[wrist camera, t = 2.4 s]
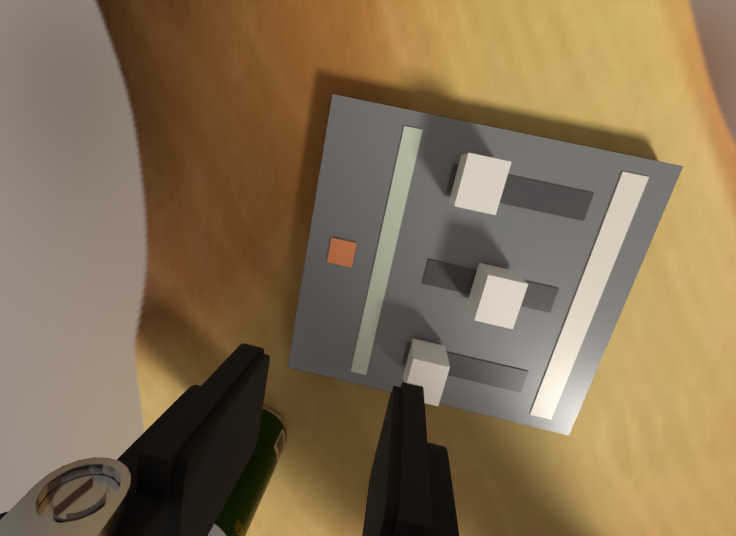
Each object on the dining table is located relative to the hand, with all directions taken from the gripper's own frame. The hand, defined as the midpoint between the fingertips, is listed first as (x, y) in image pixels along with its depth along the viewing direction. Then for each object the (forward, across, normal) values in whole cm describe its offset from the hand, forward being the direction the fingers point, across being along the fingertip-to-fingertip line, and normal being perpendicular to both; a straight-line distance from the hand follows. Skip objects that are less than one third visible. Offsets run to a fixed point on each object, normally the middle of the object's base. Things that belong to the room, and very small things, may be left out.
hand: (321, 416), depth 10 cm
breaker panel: (+19, -6, 0) cm, 20 cm away
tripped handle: (+17, -8, 0) cm, 19 cm away
